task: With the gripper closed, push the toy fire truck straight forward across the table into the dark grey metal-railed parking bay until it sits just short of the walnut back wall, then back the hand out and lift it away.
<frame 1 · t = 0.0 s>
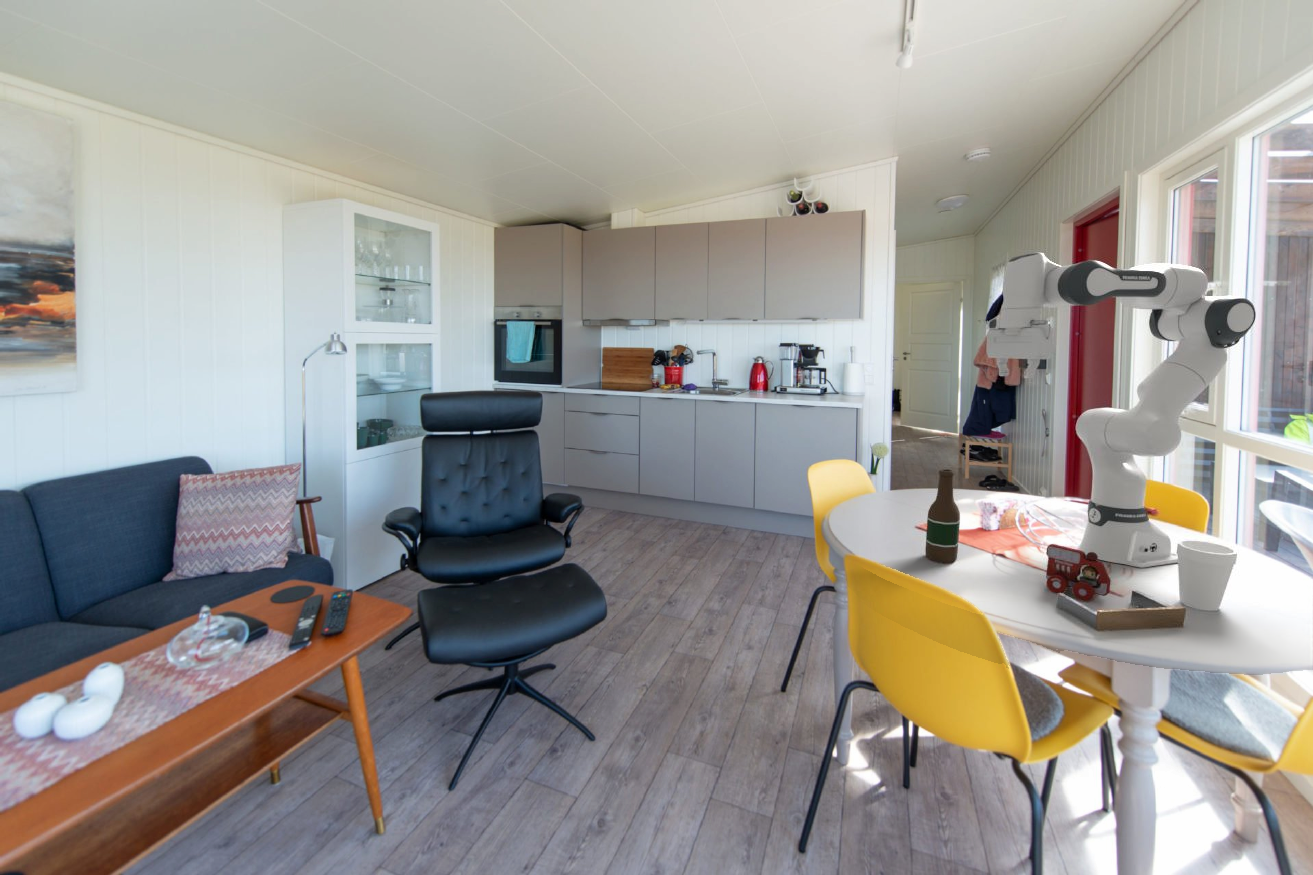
hand: (1015, 377, 149), 48 cm above the table, tool pointing down, fingers open, 8 cm apart
toy fire truck: (1074, 594, 135), on the table
foam cup: (1199, 605, 128), on the table
beer bottle: (940, 559, 157), on the table
parking bay: (1116, 615, 123), on the table
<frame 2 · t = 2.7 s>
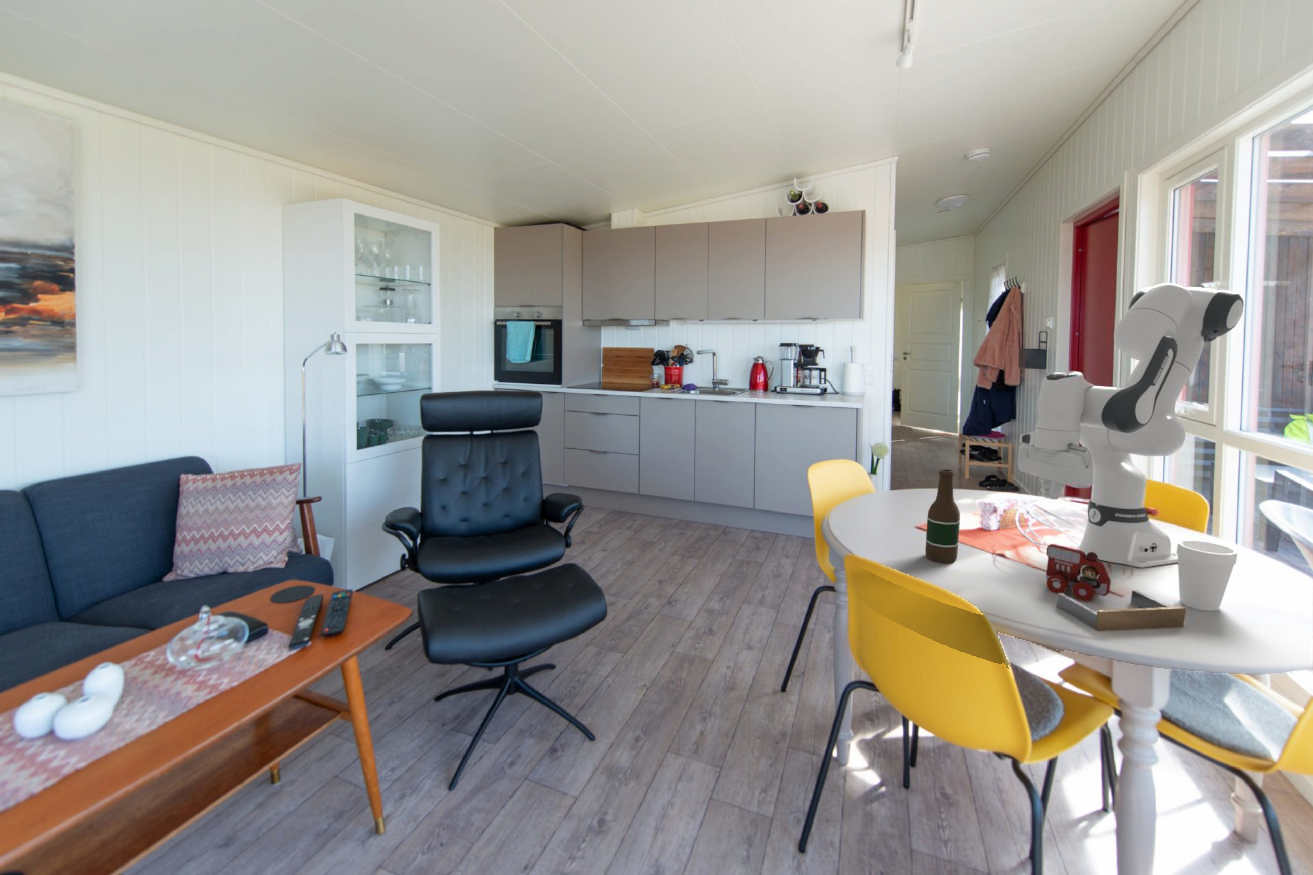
hand: (1050, 497, 141), 20 cm above the table, tool pointing down, fingers closed
nothing on the table moved.
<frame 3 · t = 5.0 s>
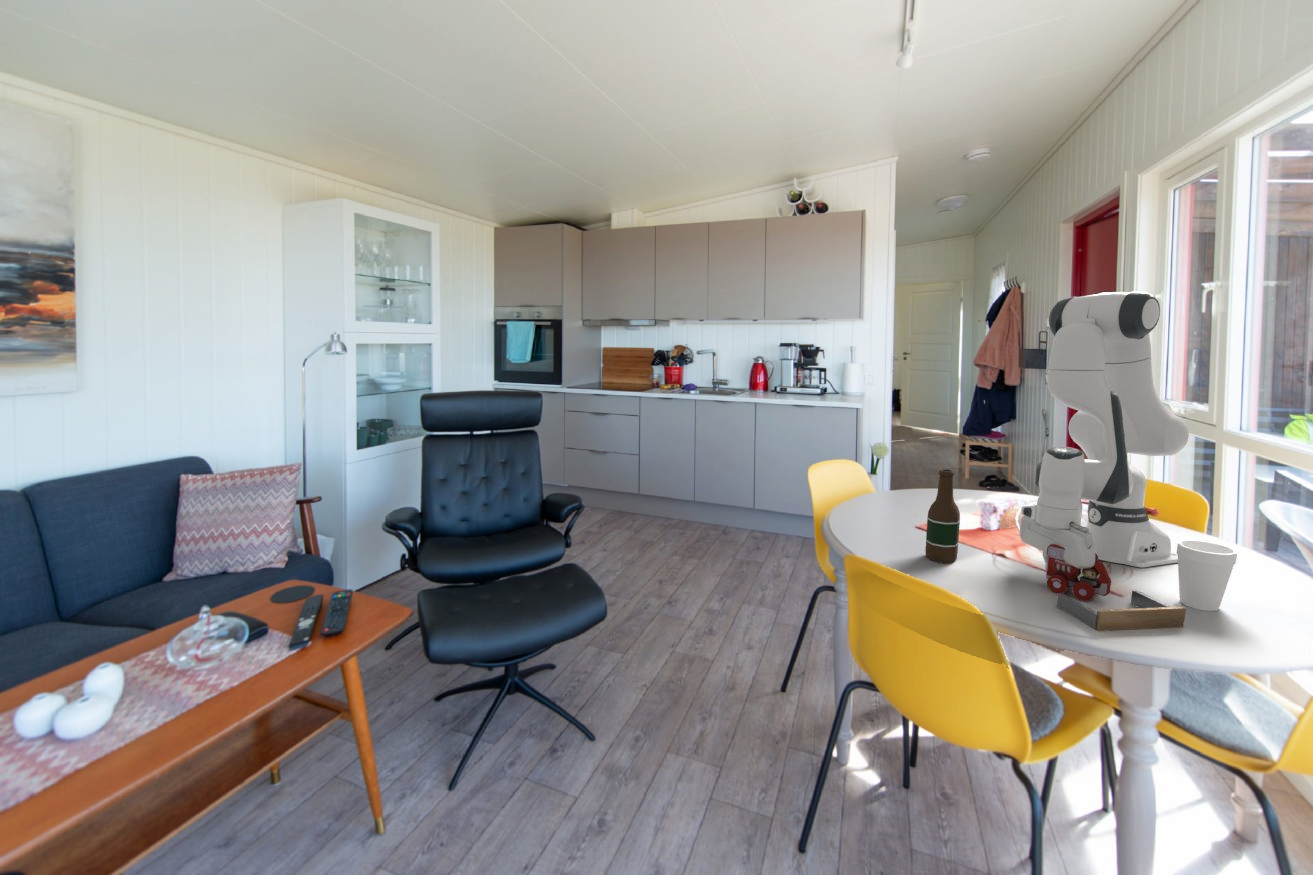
hand: (1052, 572, 141), 2 cm above the table, tool pointing down, fingers closed
toy fire truck: (1074, 594, 134), on the table, touching gripper
everything else where it was.
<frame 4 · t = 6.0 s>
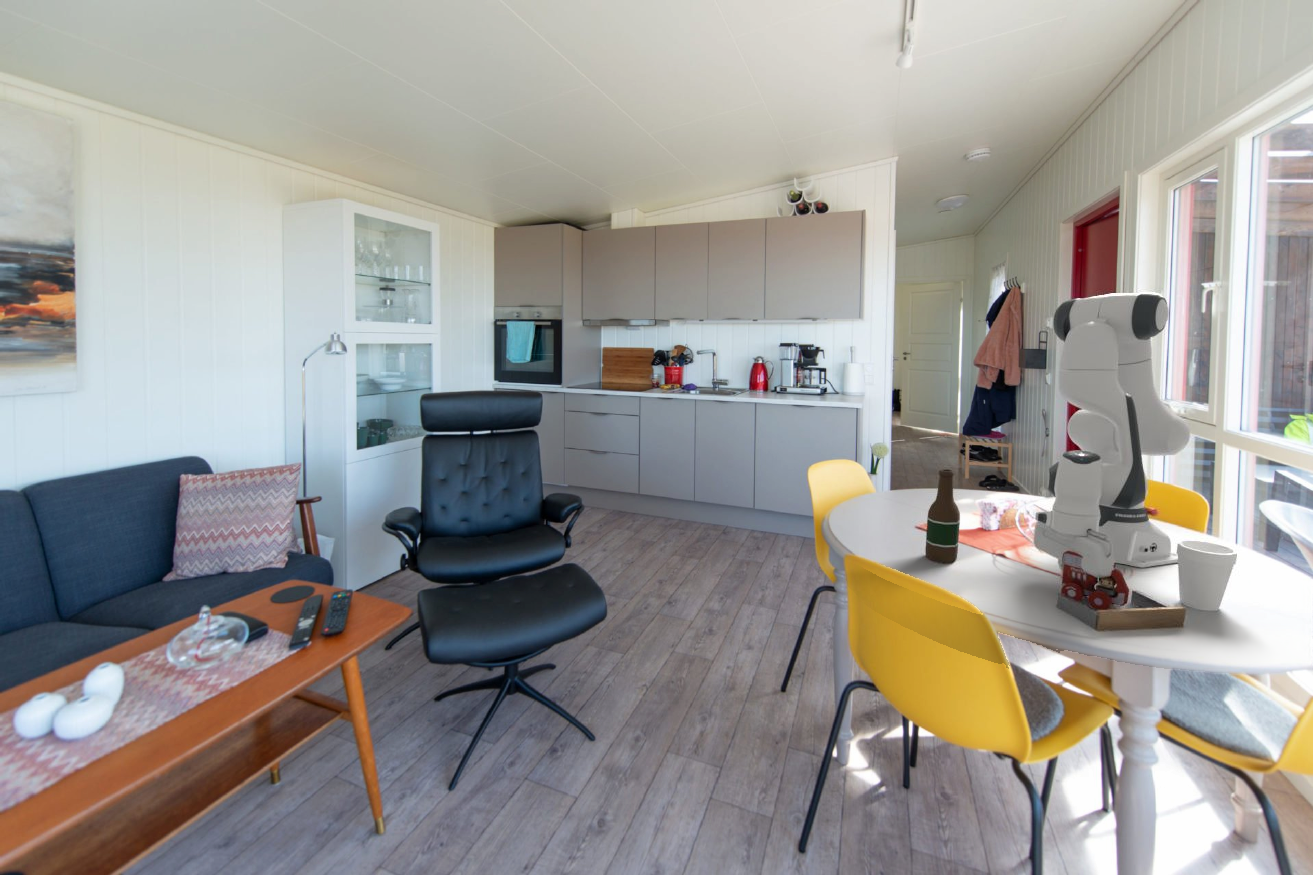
hand: (1068, 580, 136), 2 cm above the table, tool pointing down, fingers closed
toy fire truck: (1090, 603, 129), on the table, touching gripper
everything else where it was.
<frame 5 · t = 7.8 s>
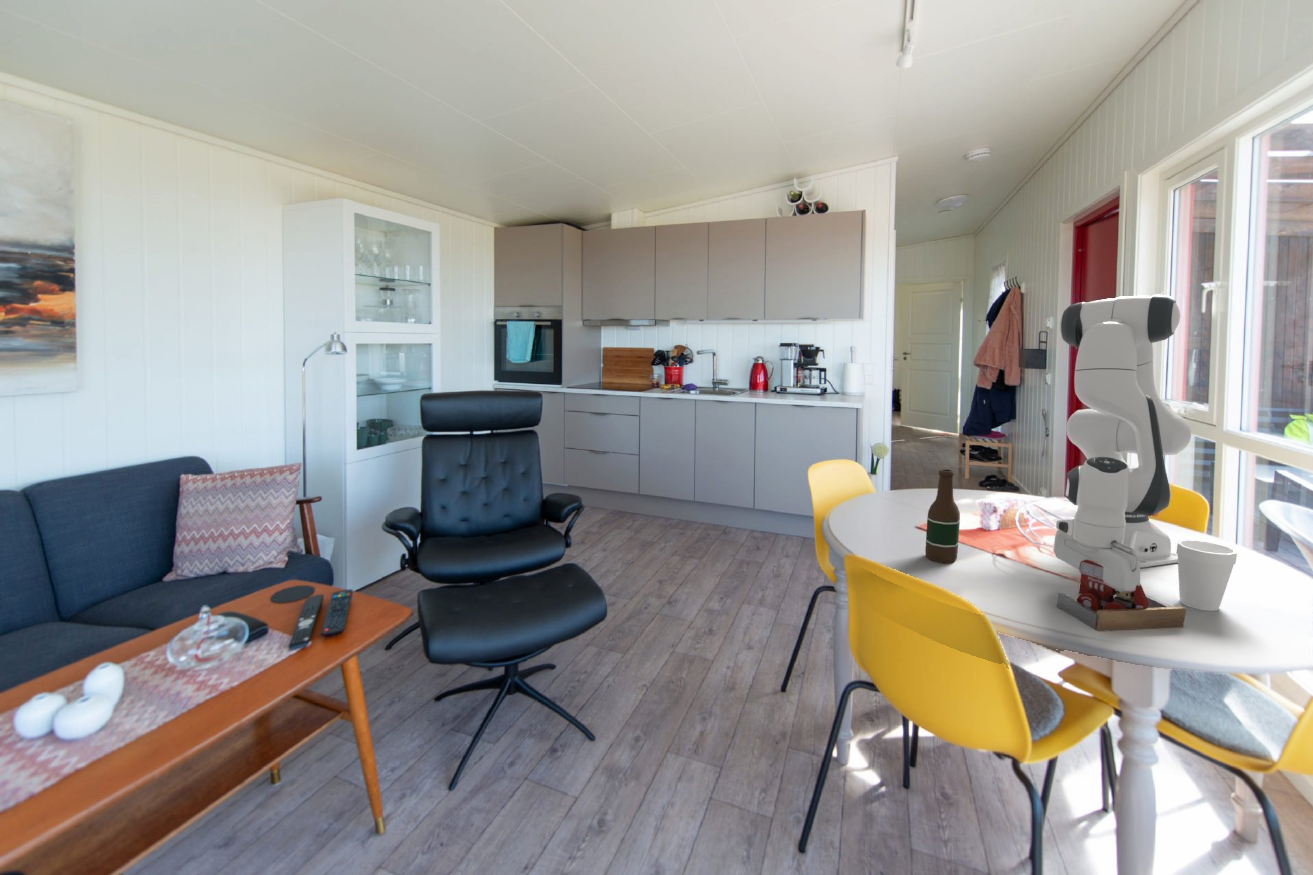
hand: (1090, 593, 130), 2 cm above the table, tool pointing down, fingers closed, pressing on toy fire truck
toy fire truck: (1108, 615, 124), on the table, touching gripper, parking bay
everything else where it was.
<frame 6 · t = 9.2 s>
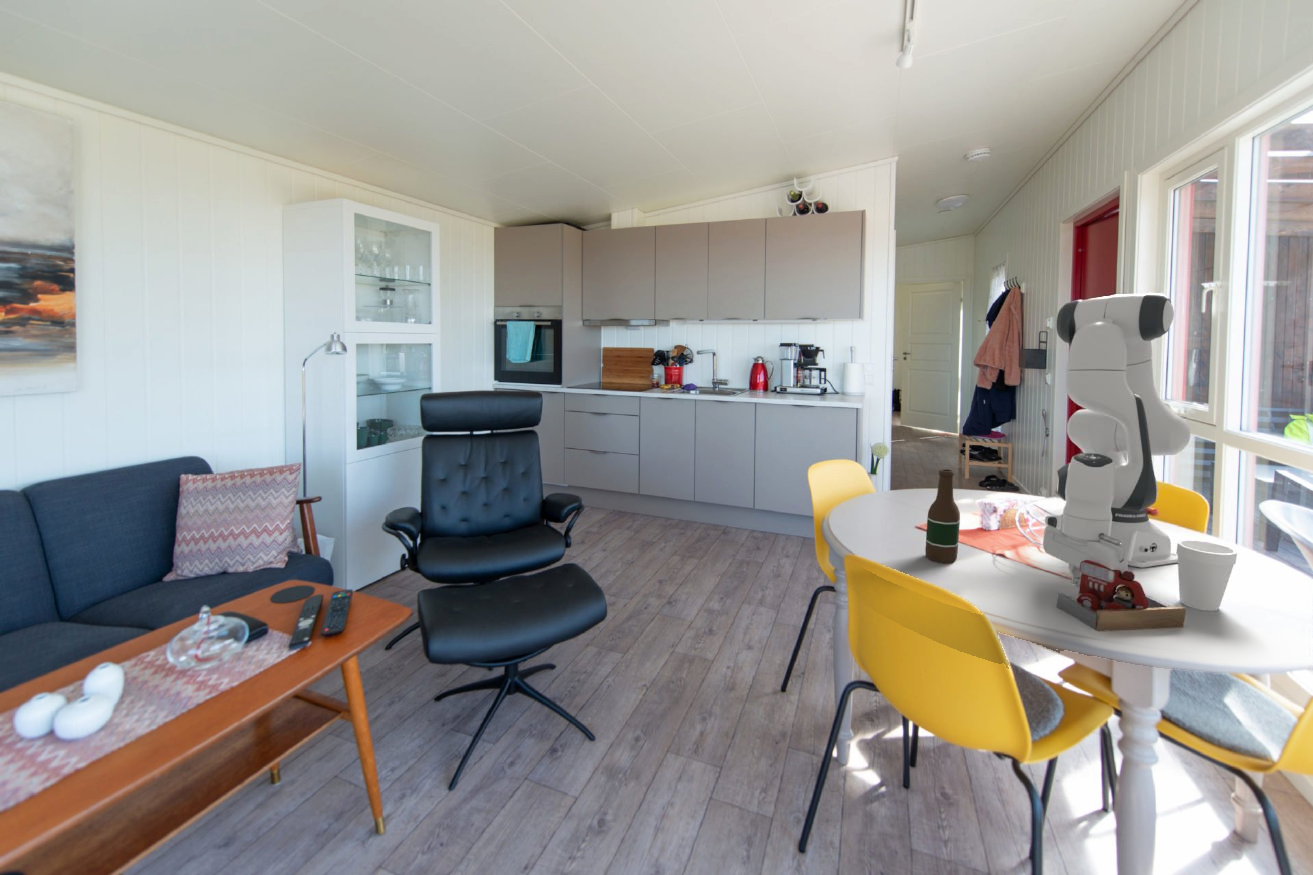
hand: (1079, 586, 133), 2 cm above the table, tool pointing down, fingers closed
toy fire truck: (1108, 615, 124), on the table
everything else where it was.
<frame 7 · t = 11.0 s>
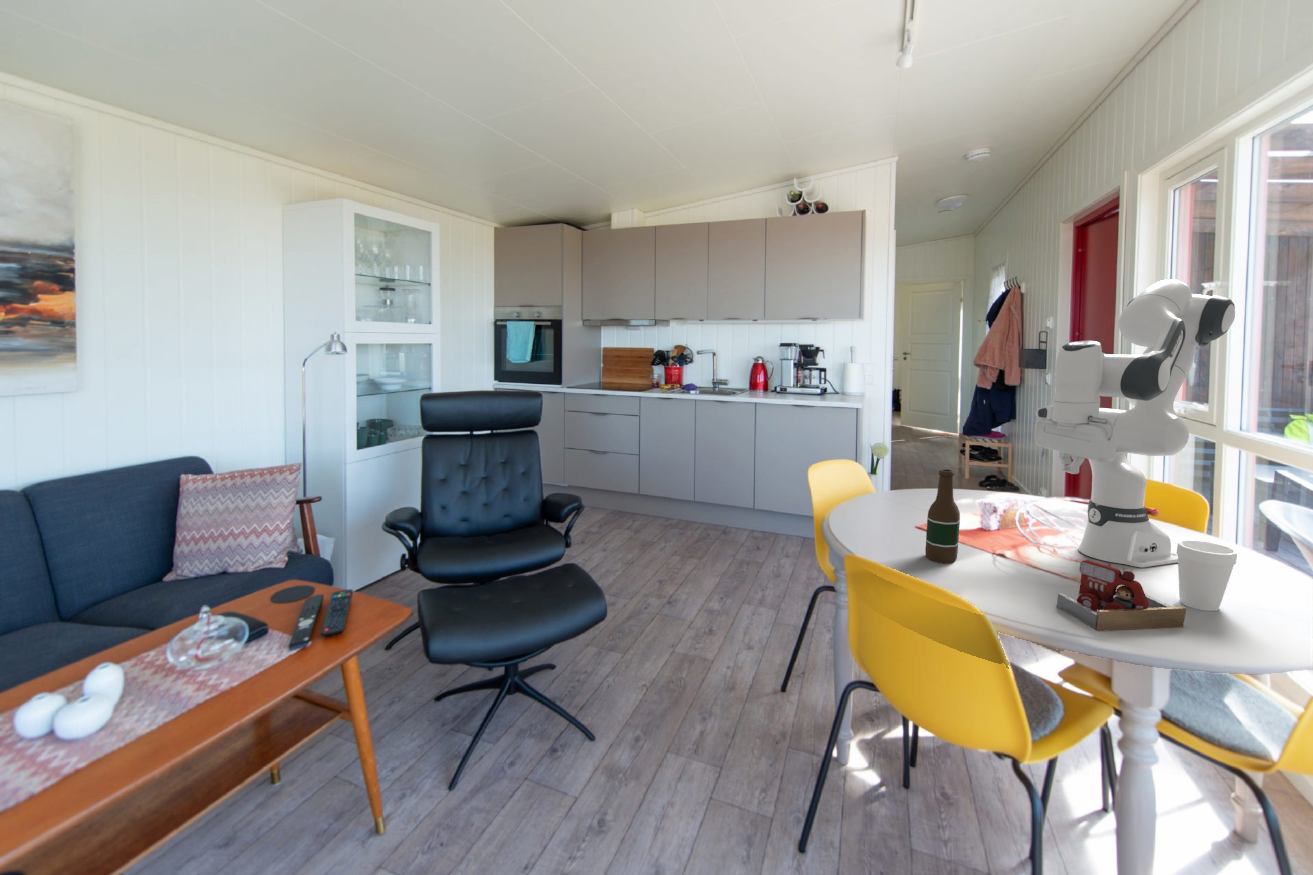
hand: (1070, 472, 137), 27 cm above the table, tool pointing down, fingers closed
nothing on the table moved.
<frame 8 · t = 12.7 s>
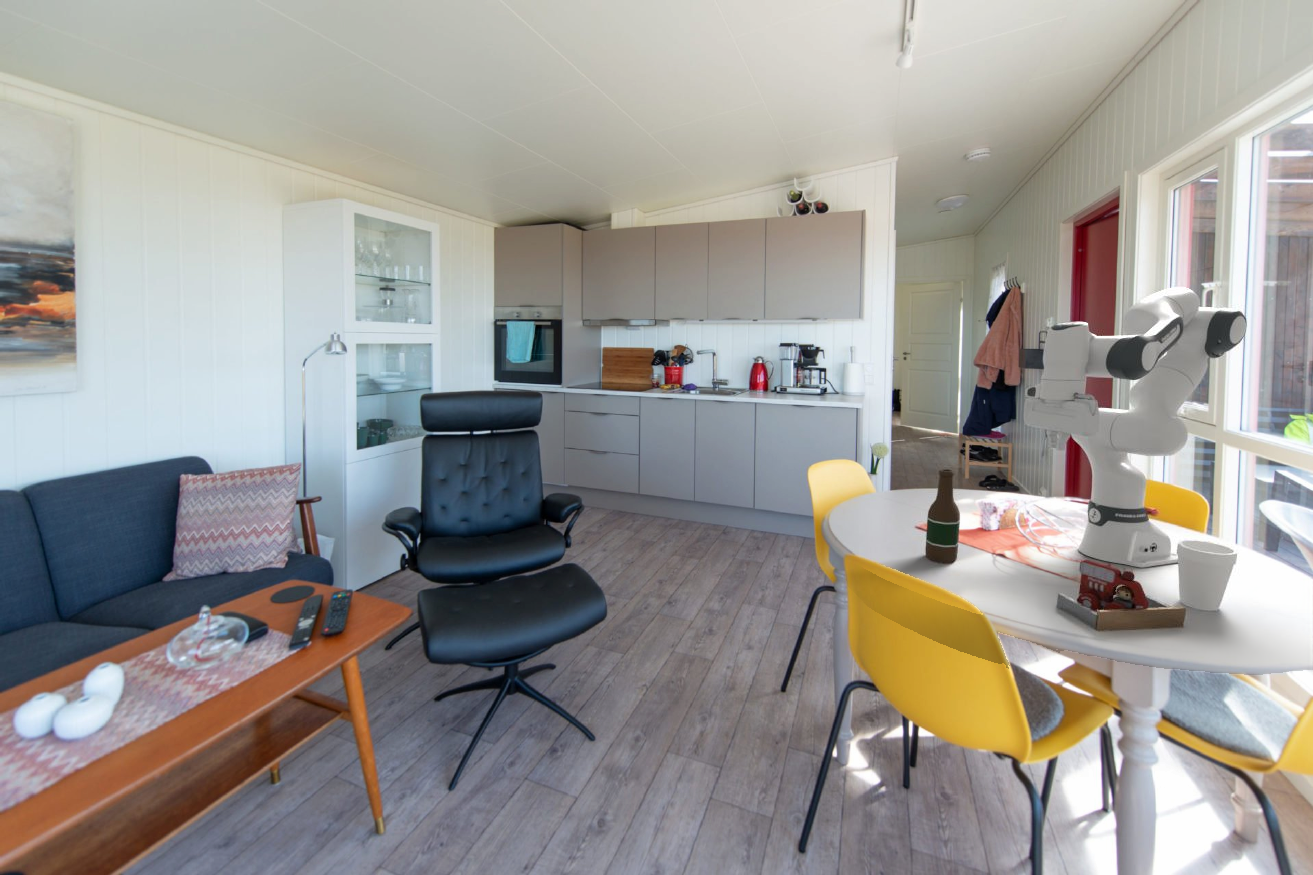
hand: (1056, 449, 142), 31 cm above the table, tool pointing down, fingers closed
nothing on the table moved.
at the end: toy fire truck inside the target area (1.4 cm from its centre), on the table; toy fire truck tilted 0° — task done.
